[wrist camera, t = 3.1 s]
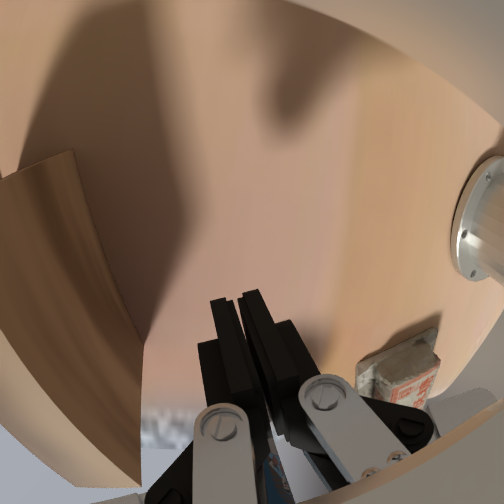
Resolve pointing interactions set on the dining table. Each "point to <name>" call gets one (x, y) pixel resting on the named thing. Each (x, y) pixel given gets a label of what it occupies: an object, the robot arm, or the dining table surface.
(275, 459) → the soda can
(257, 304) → the robot arm
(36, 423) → the wooden block
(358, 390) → the packaged product
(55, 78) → the dining table surface
